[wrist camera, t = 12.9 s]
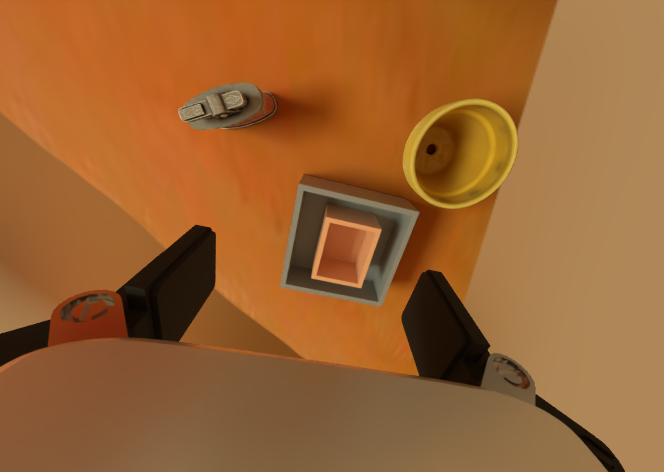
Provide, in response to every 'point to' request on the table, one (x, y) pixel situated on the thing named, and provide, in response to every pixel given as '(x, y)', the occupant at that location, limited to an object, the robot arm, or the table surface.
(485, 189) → the plant pot
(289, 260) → the grey crate
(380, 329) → the table surface
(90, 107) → the table surface
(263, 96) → the lighter
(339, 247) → the terracotta crate
